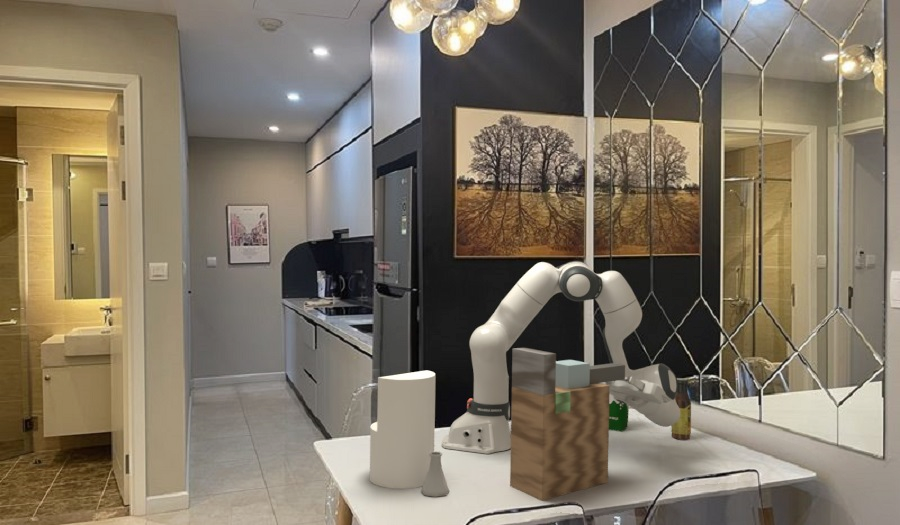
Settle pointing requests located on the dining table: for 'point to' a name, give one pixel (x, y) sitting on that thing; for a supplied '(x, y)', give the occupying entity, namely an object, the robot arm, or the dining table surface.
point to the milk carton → (617, 414)
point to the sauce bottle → (682, 412)
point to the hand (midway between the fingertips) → (615, 375)
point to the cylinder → (403, 430)
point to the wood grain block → (555, 429)
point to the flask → (435, 477)
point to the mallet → (586, 373)
